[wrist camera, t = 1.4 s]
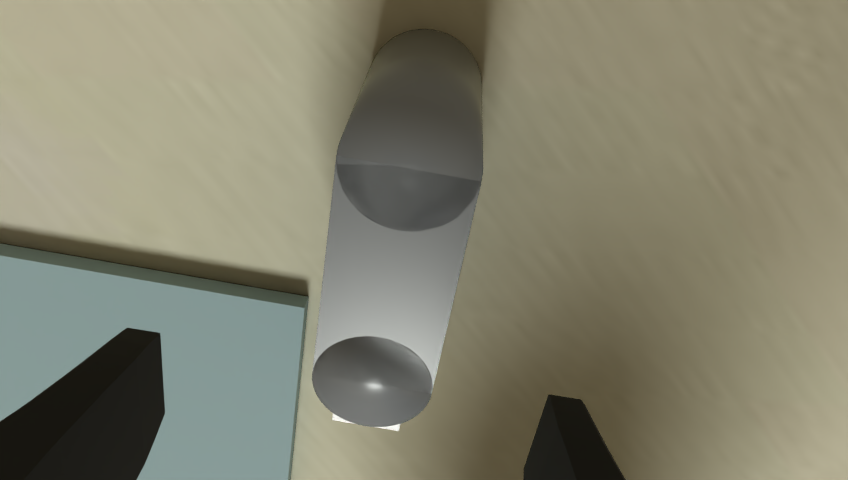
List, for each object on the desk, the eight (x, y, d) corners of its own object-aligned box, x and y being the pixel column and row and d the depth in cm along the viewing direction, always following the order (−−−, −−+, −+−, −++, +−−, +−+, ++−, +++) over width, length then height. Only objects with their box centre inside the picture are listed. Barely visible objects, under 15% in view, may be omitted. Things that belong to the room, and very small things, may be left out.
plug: (492, 40, 18) (497, 113, 14) (422, 364, 24) (410, 486, 19) (376, 19, 18) (344, 85, 14) (333, 349, 24) (301, 467, 19)
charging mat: (308, 296, 22) (304, 308, 22) (283, 546, 29) (280, 559, 29) (-104, 225, 22) (-118, 235, 22) (-32, 495, 29) (-41, 507, 28)
